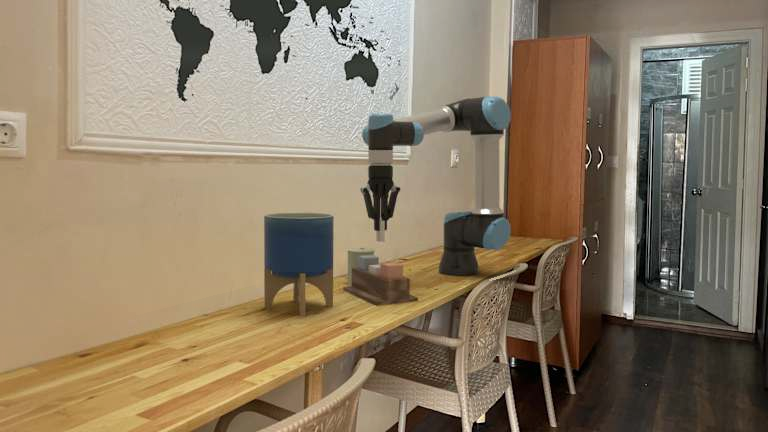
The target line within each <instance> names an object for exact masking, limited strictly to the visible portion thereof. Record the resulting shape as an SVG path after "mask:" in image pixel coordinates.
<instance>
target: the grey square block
mask: <svg viewBox="0 0 768 432" xmlns="http://www.w3.org/2000/svg"><path fill="white" fill-rule="evenodd" d="M379 258H380V257H378V256H376V255H374V256H373V255H366V256H358V269H359V270H362V271H369V265H379V264H380V259H379Z"/></svg>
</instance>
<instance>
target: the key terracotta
mask: <svg viewBox="0 0 768 432" xmlns="http://www.w3.org/2000/svg"><path fill="white" fill-rule="evenodd" d="M379 264H380V277H381V278H383V279H386V280H392V279H403V277H404V264H401V263H398V262H395V261H394V262H383V263H380V262H379Z"/></svg>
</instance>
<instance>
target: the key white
mask: <svg viewBox="0 0 768 432" xmlns="http://www.w3.org/2000/svg"><path fill="white" fill-rule="evenodd" d="M369 273H370V274H373V275H380V263H379V265H369Z"/></svg>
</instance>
